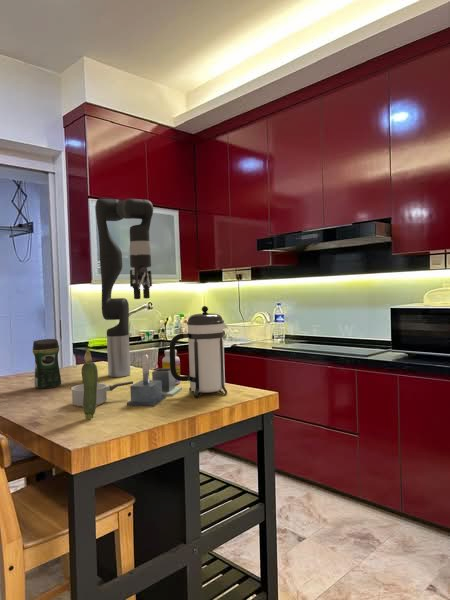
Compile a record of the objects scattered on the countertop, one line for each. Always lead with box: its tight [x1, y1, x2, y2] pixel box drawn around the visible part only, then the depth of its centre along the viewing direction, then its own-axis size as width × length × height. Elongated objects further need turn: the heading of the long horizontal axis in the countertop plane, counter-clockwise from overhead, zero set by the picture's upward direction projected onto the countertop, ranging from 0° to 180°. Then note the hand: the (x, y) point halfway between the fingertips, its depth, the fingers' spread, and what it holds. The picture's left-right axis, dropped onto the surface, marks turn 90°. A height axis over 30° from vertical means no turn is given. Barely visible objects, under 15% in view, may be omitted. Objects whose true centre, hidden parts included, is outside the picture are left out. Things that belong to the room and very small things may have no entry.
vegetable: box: [81, 348, 99, 420], centre depth 124 cm, size 4×4×20 cm
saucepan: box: [70, 381, 134, 407], centre depth 144 cm, size 12×20×6 cm, turn 115°
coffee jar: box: [32, 338, 62, 389], centre depth 170 cm, size 10×8×19 cm
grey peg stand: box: [126, 354, 167, 408], centre depth 141 cm, size 11×9×15 cm
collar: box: [151, 368, 176, 392], centre depth 154 cm, size 6×6×7 cm
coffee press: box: [169, 305, 228, 399], centre depth 149 cm, size 17×16×30 cm
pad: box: [162, 386, 183, 397], centre depth 154 cm, size 10×10×1 cm
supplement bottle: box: [161, 349, 181, 386], centre depth 168 cm, size 7×7×13 cm
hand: (142, 298), depth 160 cm, fingers open, 8 cm apart
